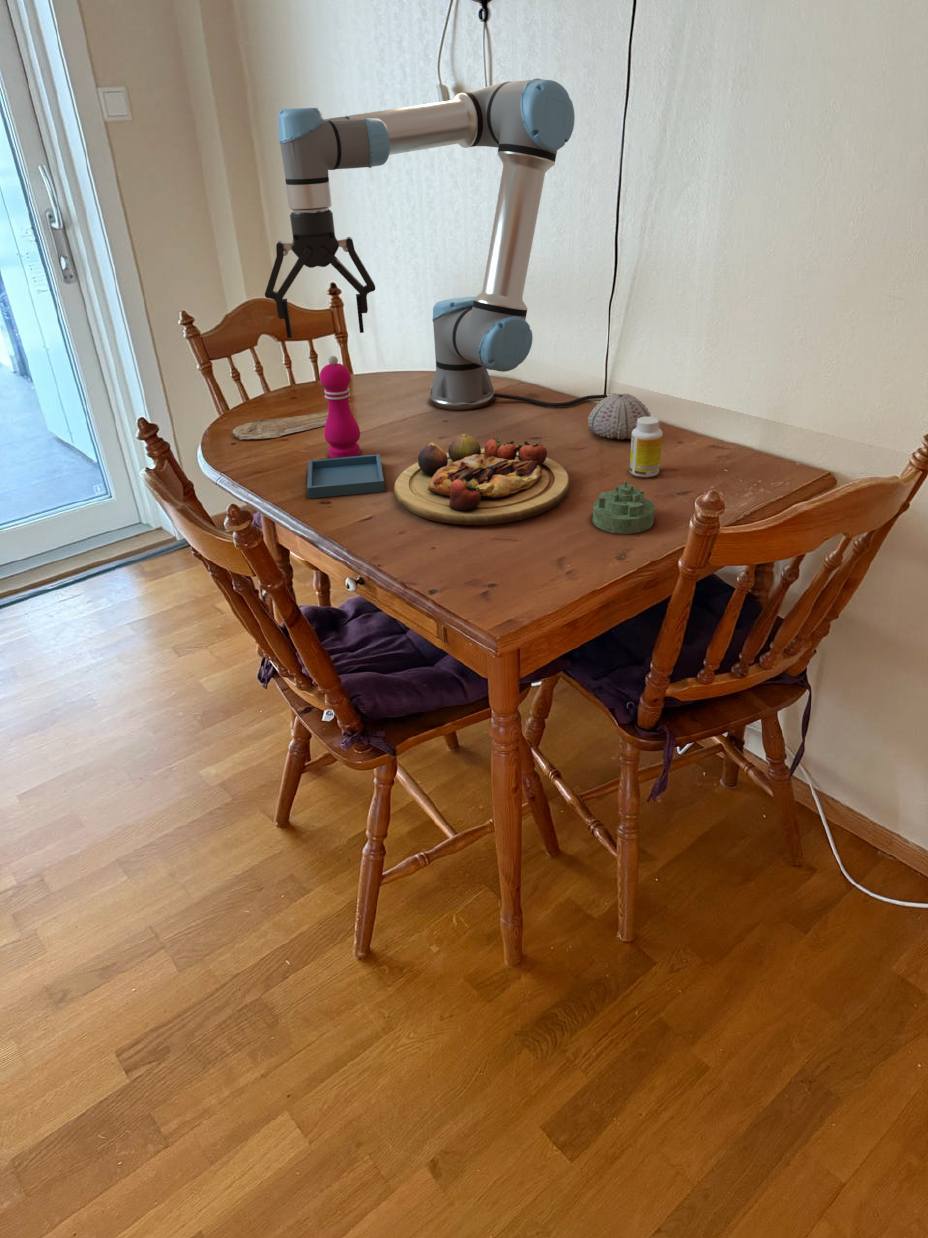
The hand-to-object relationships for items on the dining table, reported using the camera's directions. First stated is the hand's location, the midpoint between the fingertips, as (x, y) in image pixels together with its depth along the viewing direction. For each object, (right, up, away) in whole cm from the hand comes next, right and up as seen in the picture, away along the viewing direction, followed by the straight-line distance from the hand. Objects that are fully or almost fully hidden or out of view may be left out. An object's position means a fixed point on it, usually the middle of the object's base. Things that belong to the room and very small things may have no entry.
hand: (325, 333), depth 159 cm
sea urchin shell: (+59, -15, +16) cm, 63 cm away
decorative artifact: (+53, -38, -19) cm, 68 cm away
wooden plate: (+30, -31, -6) cm, 43 cm away
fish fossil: (-13, -11, +29) cm, 34 cm away
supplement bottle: (+60, -27, -2) cm, 66 cm away
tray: (+4, -28, +1) cm, 28 cm away
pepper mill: (+2, -21, +13) cm, 24 cm away
